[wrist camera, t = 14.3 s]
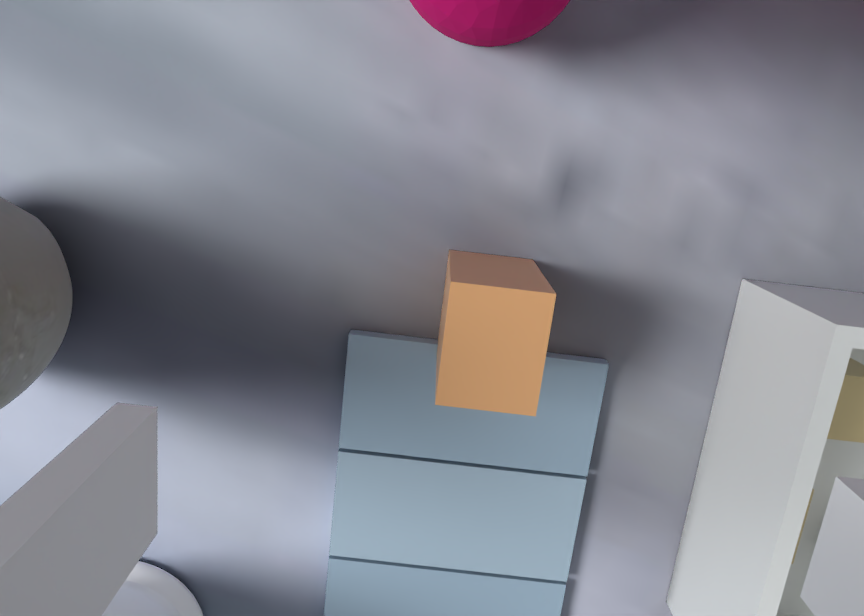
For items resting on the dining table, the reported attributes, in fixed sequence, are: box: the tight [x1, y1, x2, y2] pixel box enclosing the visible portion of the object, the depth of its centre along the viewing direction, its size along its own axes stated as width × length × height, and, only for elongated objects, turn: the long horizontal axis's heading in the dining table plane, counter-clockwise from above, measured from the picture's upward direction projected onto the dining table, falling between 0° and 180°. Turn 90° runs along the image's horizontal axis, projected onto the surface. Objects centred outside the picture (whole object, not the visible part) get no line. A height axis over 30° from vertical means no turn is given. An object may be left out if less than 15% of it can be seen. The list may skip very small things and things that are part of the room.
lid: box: [324, 250, 609, 616], centre depth 32 cm, size 23×13×7 cm, turn 173°
